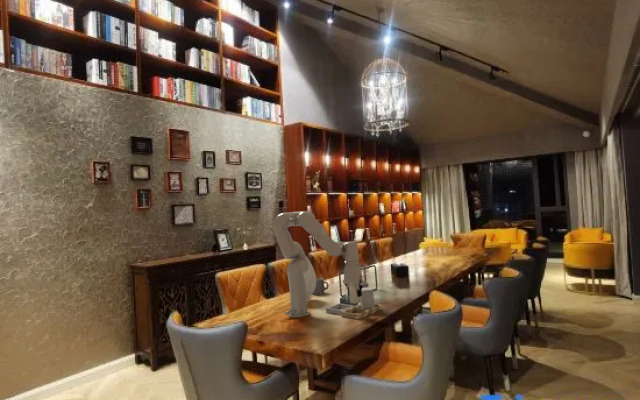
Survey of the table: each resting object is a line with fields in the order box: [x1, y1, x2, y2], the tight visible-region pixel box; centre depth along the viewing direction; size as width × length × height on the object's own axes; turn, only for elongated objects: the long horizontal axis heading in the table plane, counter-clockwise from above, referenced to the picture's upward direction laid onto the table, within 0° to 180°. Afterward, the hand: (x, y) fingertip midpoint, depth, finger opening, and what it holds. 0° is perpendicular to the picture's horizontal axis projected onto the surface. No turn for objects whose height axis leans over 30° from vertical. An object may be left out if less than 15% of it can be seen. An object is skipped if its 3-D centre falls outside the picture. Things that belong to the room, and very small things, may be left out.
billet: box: [349, 283, 361, 304], centre depth 226 cm, size 6×6×13 cm
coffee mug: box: [311, 277, 330, 296], centre depth 288 cm, size 13×10×10 cm
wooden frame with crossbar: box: [340, 303, 383, 320], centre depth 230 cm, size 23×12×2 cm, turn 137°
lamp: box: [304, 254, 317, 302], centre depth 269 cm, size 16×16×35 cm
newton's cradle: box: [338, 263, 378, 298], centre depth 278 cm, size 30×10×18 cm, turn 139°
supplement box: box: [359, 286, 375, 309], centre depth 234 cm, size 7×7×13 cm
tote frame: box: [325, 302, 355, 316], centre depth 236 cm, size 12×12×2 cm
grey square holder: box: [339, 296, 360, 306], centre depth 247 cm, size 8×8×5 cm
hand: (354, 295), depth 226 cm, fingers closed on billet, 6 cm apart
